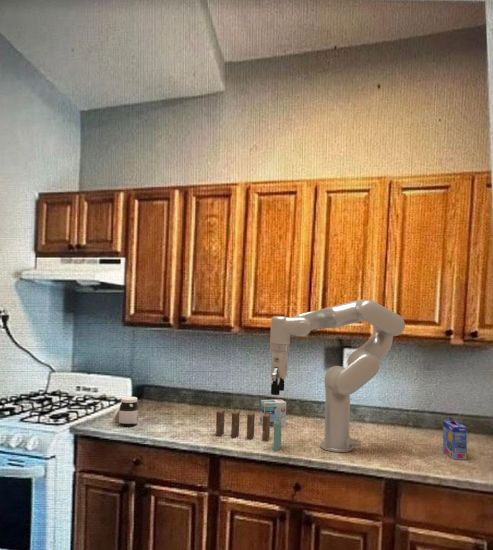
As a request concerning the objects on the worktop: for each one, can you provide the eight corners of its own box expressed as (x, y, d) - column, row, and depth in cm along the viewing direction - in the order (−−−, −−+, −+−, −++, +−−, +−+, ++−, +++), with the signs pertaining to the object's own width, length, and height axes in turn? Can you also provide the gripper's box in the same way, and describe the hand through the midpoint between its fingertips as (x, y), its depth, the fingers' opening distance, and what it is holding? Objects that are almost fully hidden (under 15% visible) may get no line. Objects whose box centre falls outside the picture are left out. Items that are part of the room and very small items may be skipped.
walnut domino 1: (223, 433, 217) (224, 409, 217) (220, 436, 212) (221, 412, 212) (219, 433, 217) (220, 409, 218) (215, 436, 212) (216, 411, 213)
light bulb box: (263, 427, 229) (264, 402, 230) (259, 423, 236) (260, 399, 236) (286, 426, 232) (287, 402, 232) (281, 422, 239) (282, 399, 239)
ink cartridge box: (441, 451, 201) (442, 414, 202) (455, 451, 202) (456, 414, 202) (452, 459, 192) (453, 420, 192) (467, 460, 192) (468, 420, 192)
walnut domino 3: (254, 436, 214) (254, 412, 214) (251, 439, 209) (252, 414, 209) (249, 436, 214) (250, 411, 215) (246, 439, 209) (247, 414, 210)
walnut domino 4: (269, 438, 212) (270, 413, 213) (267, 441, 208) (267, 416, 208) (264, 437, 213) (265, 413, 213) (262, 440, 208) (263, 415, 208)
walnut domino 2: (238, 435, 215) (239, 410, 216) (235, 438, 211) (236, 413, 211) (234, 434, 216) (235, 410, 216) (231, 437, 211) (231, 413, 211)
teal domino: (280, 447, 200) (281, 421, 201) (278, 450, 195) (279, 424, 196) (275, 446, 201) (276, 420, 201) (273, 450, 196) (274, 423, 196)
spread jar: (134, 428, 221) (135, 400, 221) (108, 427, 221) (109, 399, 221) (140, 421, 233) (141, 395, 233) (115, 420, 233) (116, 394, 233)
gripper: (285, 351, 191) (283, 397, 190) (292, 346, 207) (290, 389, 207) (265, 349, 192) (263, 395, 192) (274, 345, 209) (272, 388, 209)
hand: (277, 392), depth 199 cm, fingers open, 9 cm apart
